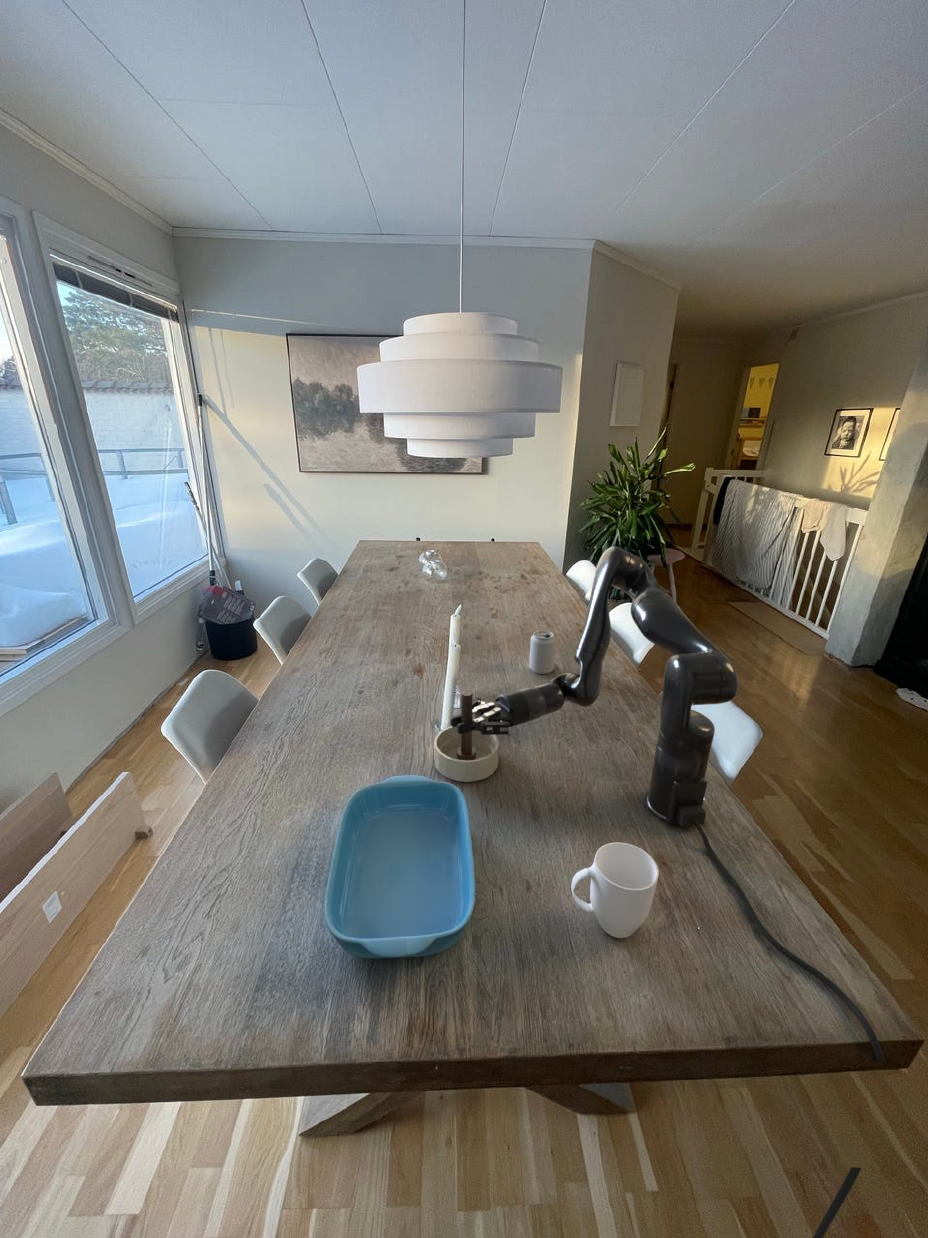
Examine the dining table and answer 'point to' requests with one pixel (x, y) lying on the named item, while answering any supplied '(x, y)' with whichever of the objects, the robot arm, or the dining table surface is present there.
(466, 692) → the stirring stick
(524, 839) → the dining table surface
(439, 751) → the bowl
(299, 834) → the dining table surface
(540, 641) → the can
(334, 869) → the casserole dish
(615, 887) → the mug
